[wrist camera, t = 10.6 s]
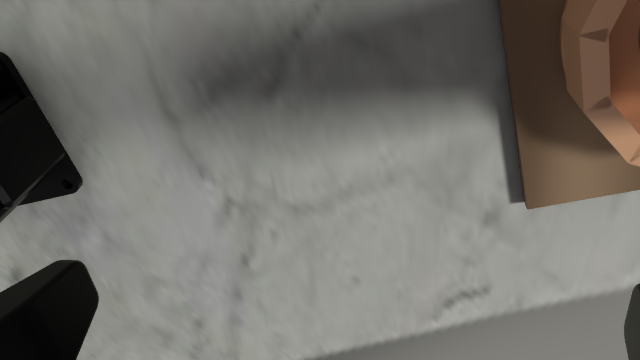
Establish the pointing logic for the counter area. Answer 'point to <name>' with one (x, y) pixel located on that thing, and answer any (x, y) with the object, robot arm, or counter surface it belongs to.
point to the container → (639, 37)
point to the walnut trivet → (554, 115)
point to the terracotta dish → (605, 67)
